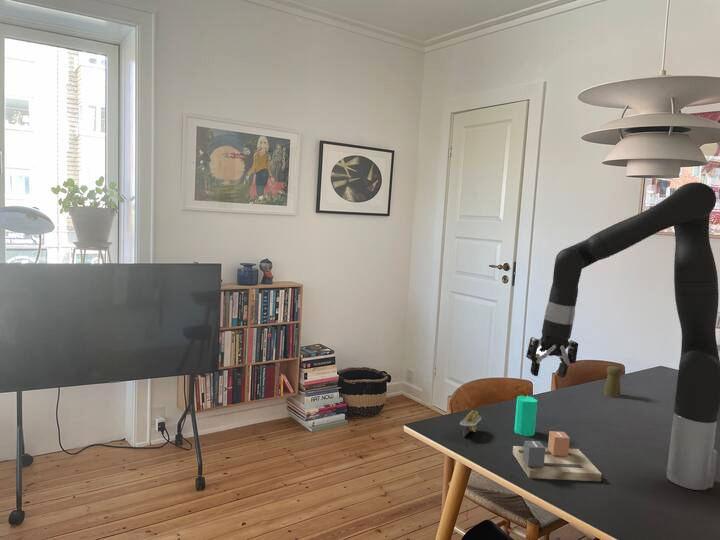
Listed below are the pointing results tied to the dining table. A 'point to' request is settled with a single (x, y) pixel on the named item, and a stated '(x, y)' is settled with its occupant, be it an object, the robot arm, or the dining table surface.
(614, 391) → the cork
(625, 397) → the dining table surface
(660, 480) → the dining table surface
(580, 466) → the panel
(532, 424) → the candle
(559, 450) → the block
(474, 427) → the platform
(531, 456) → the fader
